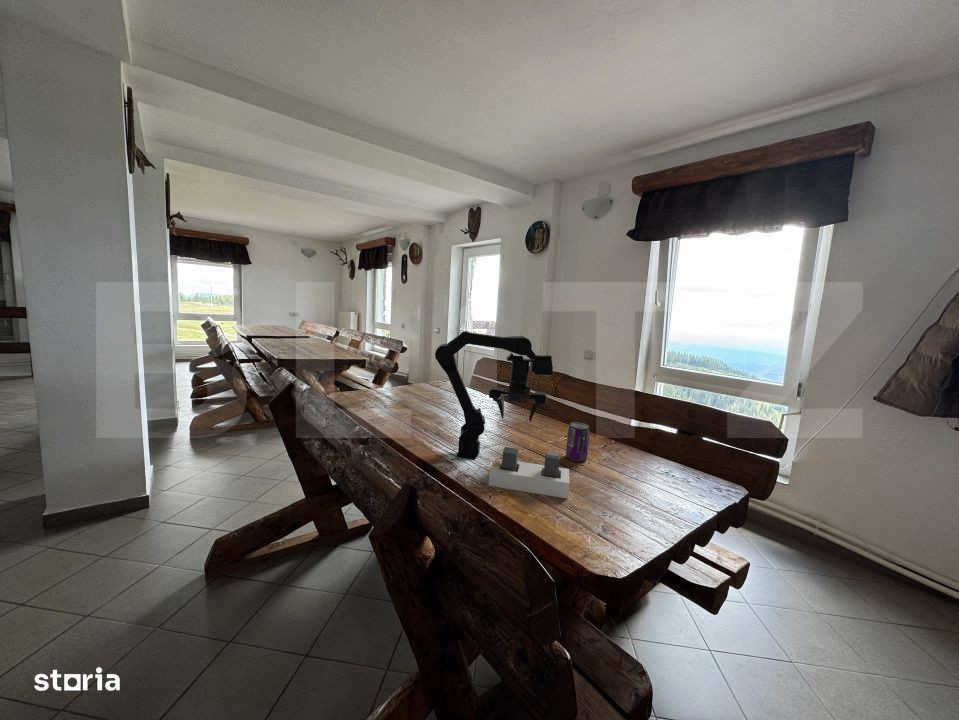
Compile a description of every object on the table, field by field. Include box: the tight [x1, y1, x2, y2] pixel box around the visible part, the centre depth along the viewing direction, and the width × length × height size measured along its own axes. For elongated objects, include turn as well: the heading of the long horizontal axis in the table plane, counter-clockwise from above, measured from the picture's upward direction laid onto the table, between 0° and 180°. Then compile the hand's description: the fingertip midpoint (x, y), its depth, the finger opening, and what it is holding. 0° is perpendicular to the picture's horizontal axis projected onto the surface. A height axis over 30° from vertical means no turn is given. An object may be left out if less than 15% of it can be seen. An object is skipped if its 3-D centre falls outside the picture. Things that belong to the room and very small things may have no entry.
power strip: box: [488, 446, 570, 500], centre depth 105 cm, size 22×9×10 cm, turn 77°
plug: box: [543, 450, 561, 478], centre depth 104 cm, size 4×4×9 cm
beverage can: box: [565, 421, 590, 463], centre depth 125 cm, size 7×7×12 cm
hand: (516, 419), depth 123 cm, fingers open, 9 cm apart
